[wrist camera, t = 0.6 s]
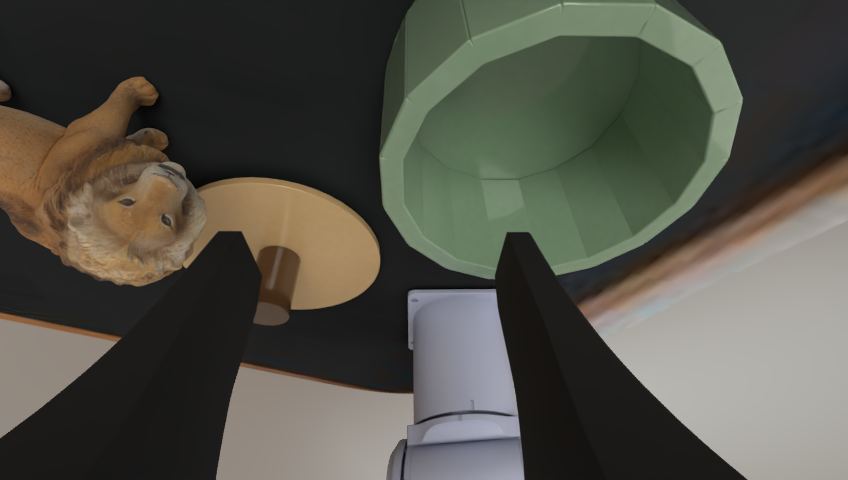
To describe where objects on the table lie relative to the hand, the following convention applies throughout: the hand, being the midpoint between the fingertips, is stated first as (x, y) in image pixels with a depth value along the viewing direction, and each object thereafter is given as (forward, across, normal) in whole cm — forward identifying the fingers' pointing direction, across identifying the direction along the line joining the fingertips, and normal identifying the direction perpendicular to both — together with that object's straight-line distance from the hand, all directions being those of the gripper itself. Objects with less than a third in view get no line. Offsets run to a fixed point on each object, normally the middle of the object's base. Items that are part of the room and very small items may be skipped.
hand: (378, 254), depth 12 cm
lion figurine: (+10, +13, 0) cm, 17 cm away
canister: (+10, -6, 0) cm, 11 cm away
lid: (+9, +7, +11) cm, 16 cm away
